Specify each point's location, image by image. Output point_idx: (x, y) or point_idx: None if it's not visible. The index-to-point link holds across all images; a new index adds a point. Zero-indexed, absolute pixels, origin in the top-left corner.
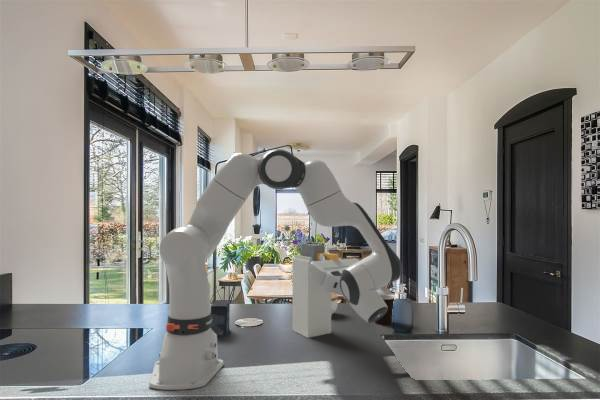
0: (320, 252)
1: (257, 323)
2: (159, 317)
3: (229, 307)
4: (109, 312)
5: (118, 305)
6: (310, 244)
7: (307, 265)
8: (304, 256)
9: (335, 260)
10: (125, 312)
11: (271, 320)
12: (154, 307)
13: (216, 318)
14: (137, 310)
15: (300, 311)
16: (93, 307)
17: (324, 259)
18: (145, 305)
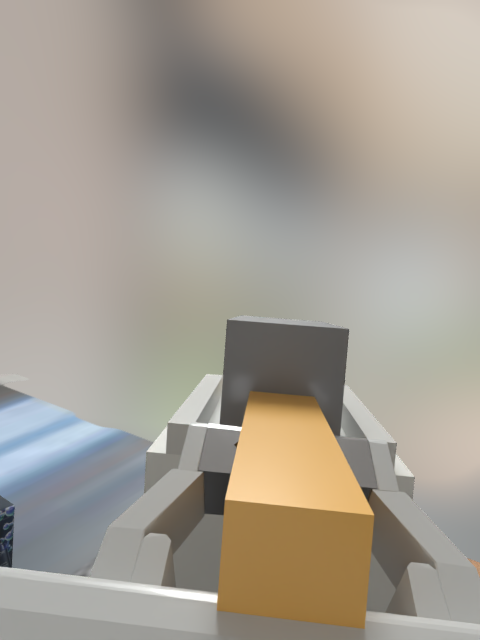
0: (293, 391)
1: None
2: (22, 465)
3: (8, 529)
4: (4, 424)
5: (53, 411)
6: (294, 320)
7: (146, 485)
8: (199, 397)
9: (282, 631)
10: (19, 431)
11: None
12: (82, 432)
13: None
14: (44, 432)
15: None
16: (19, 406)
17: (137, 524)
18: (82, 423)
